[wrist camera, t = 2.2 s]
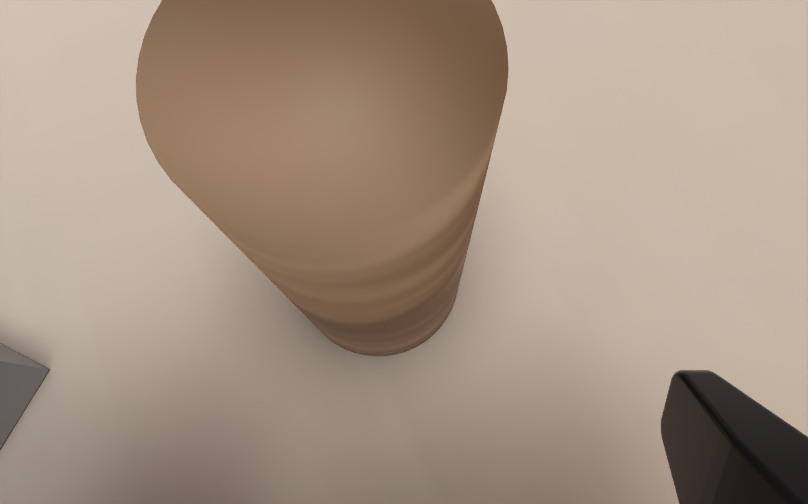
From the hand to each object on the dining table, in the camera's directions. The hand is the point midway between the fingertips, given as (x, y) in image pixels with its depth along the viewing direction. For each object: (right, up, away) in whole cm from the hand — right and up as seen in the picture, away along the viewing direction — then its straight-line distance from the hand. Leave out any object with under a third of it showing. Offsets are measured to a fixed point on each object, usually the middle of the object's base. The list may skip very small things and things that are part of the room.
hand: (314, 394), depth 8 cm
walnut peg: (0, +1, +12) cm, 12 cm away
